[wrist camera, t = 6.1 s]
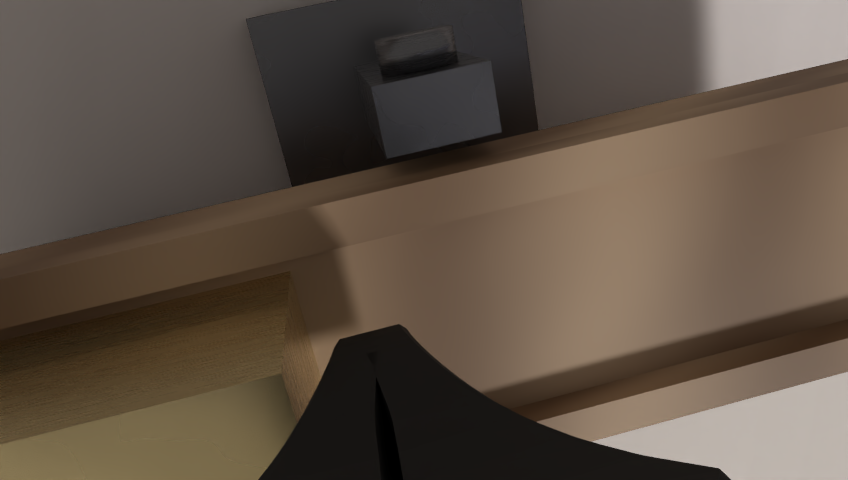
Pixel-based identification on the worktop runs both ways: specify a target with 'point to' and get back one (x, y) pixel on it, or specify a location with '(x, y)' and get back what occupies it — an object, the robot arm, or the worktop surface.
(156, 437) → the rider
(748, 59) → the worktop surface
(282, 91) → the stand
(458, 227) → the beam
